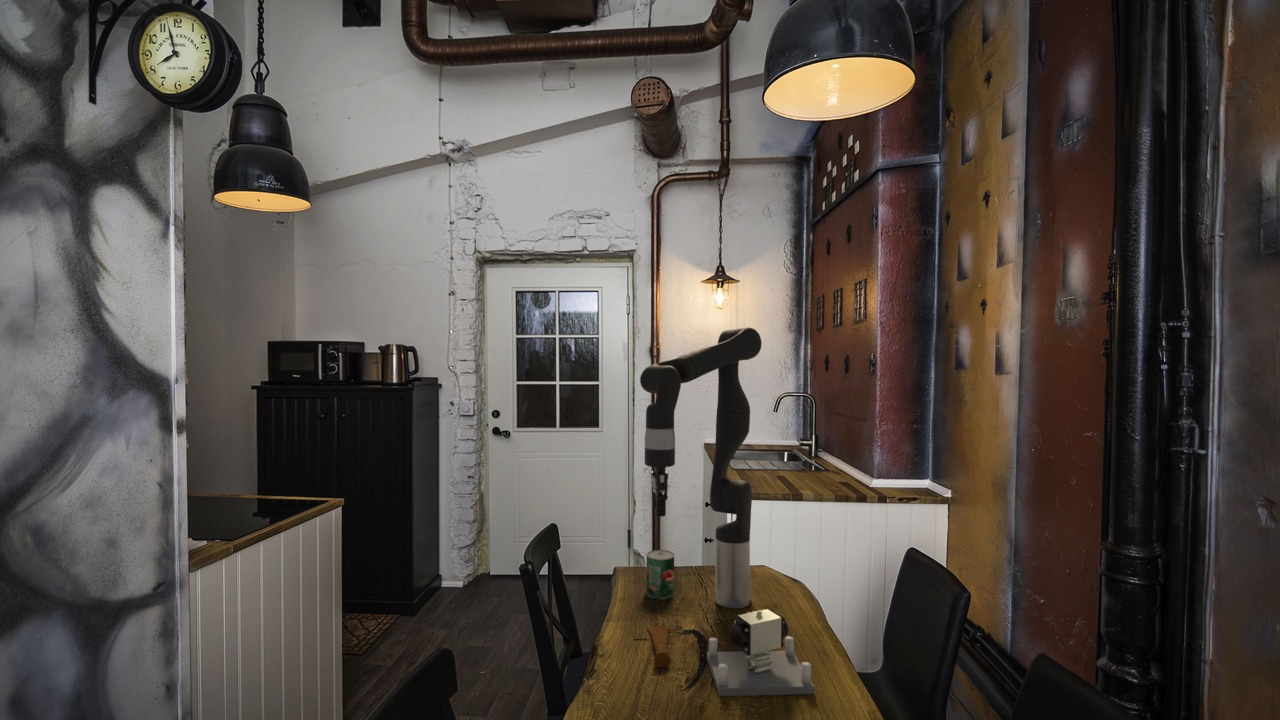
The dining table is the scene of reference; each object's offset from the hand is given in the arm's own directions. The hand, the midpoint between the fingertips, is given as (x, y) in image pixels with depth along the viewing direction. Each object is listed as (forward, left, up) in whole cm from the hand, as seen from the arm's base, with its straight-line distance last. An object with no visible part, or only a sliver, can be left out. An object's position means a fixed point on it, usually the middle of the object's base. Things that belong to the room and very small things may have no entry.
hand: (659, 511), depth 142 cm
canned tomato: (-15, -12, -28) cm, 34 cm away
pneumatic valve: (+3, +30, -27) cm, 40 cm away
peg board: (+4, +30, -28) cm, 41 cm away
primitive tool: (+8, +7, -29) cm, 31 cm away
